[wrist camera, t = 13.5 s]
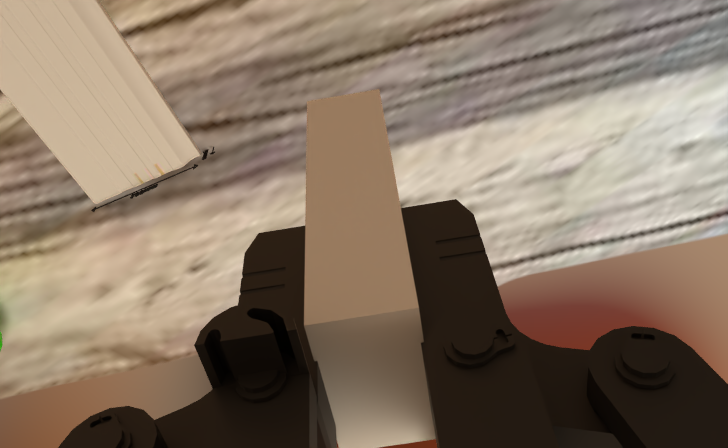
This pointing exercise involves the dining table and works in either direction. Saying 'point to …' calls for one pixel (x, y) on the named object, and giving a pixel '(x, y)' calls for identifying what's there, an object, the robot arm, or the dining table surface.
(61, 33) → the baseboard
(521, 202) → the dining table surface
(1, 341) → the plastic bottle
